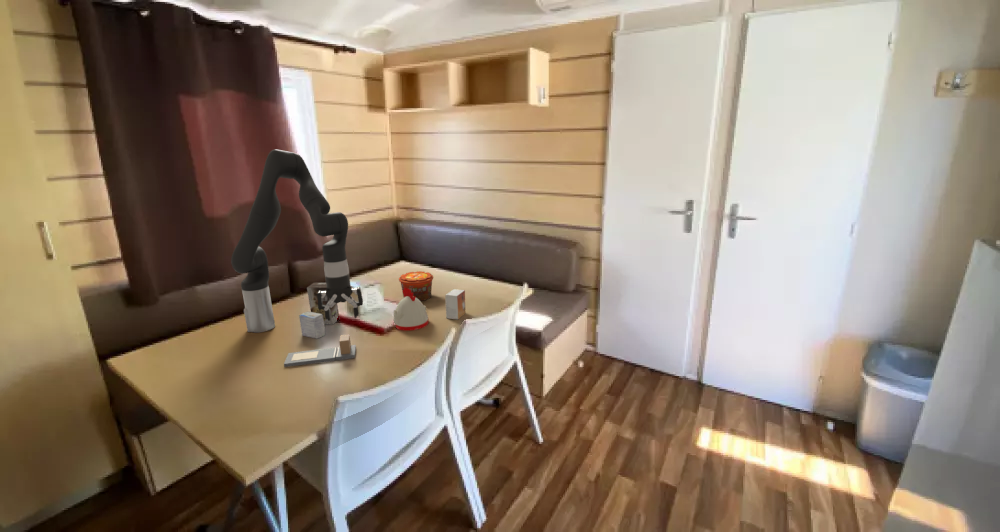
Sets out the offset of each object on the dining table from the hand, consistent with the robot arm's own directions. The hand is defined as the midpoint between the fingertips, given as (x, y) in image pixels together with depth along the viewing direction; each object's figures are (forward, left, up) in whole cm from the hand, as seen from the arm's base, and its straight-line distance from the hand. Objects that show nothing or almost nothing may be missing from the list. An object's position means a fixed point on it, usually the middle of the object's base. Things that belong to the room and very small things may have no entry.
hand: (342, 318), depth 150 cm
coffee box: (-11, +33, -14) cm, 37 cm away
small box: (+42, +24, -14) cm, 51 cm away
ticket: (-12, 0, -13) cm, 18 cm away
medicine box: (-14, +20, -14) cm, 28 cm away
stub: (0, 0, -13) cm, 13 cm away
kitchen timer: (+23, +21, -14) cm, 34 cm away
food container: (+28, +52, -14) cm, 61 cm away
